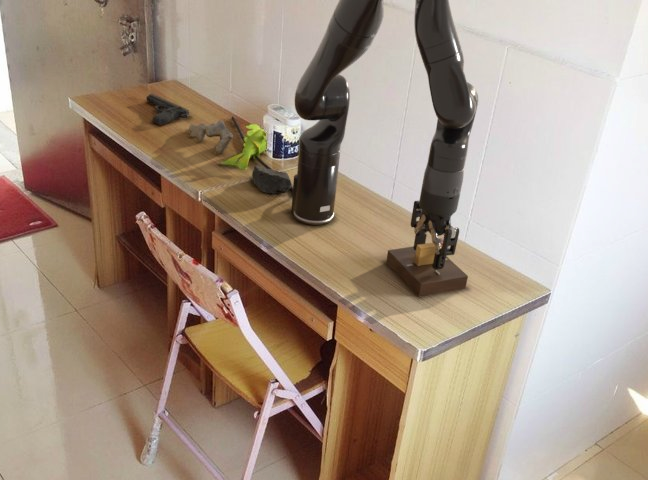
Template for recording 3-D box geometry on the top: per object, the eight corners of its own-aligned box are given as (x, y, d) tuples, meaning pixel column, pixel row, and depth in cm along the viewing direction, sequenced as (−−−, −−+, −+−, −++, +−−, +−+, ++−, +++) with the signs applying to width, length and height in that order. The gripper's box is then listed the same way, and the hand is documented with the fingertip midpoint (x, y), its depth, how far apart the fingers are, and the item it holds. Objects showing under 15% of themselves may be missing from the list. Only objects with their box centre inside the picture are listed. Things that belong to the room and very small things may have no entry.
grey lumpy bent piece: (182, 131, 222) (182, 107, 218) (198, 128, 225) (198, 104, 221) (219, 156, 209) (220, 131, 205) (235, 153, 211) (236, 128, 207)
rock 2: (250, 180, 199) (246, 187, 190) (256, 158, 198) (253, 164, 188) (289, 192, 200) (287, 200, 190) (296, 171, 198) (294, 177, 188)
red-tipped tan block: (417, 266, 159) (420, 247, 157) (413, 262, 161) (417, 243, 158) (440, 262, 161) (444, 244, 159) (436, 258, 162) (440, 240, 160)
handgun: (123, 109, 237) (155, 100, 243) (160, 127, 225) (193, 117, 232) (122, 100, 235) (154, 91, 242) (160, 118, 223) (193, 108, 230)
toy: (280, 145, 215) (284, 124, 209) (242, 187, 205) (245, 166, 198) (255, 132, 217) (258, 111, 211) (217, 173, 206) (219, 152, 200)
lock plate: (385, 262, 166) (387, 249, 164) (430, 255, 170) (432, 242, 168) (418, 296, 155) (421, 283, 154) (465, 288, 159) (468, 275, 157)
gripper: (407, 173, 156) (395, 245, 165) (444, 204, 145) (429, 279, 154) (439, 170, 158) (426, 240, 167) (478, 200, 147) (462, 274, 156)
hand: (427, 259), depth 160 cm, fingers open, 7 cm apart
